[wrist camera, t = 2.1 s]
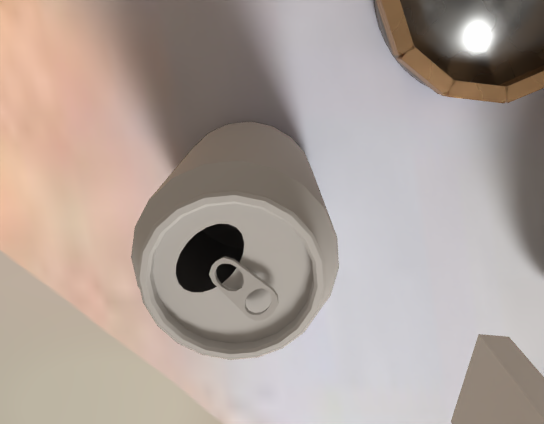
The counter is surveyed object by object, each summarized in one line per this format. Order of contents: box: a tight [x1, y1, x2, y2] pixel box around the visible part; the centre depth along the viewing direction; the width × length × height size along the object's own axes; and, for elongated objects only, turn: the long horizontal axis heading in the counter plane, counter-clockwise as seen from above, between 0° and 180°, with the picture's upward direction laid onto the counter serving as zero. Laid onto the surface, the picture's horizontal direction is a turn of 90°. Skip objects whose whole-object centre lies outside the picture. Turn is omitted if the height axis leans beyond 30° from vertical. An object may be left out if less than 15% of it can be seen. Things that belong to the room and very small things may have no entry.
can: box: [131, 122, 339, 360], centre depth 20 cm, size 8×8×12 cm
